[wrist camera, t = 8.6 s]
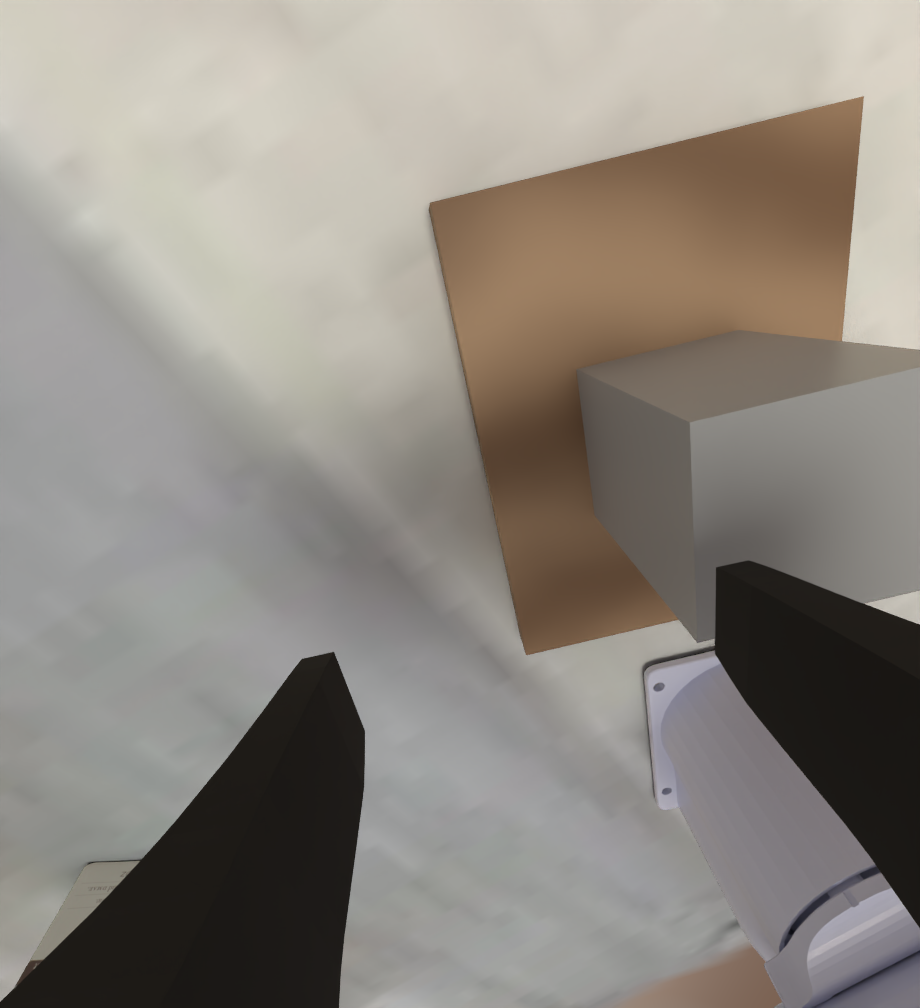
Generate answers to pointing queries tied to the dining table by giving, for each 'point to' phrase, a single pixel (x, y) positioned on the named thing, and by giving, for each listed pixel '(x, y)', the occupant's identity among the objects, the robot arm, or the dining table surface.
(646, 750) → the dining table surface
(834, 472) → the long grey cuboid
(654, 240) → the walnut board
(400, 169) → the dining table surface
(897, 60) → the dining table surface
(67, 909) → the skincare box
